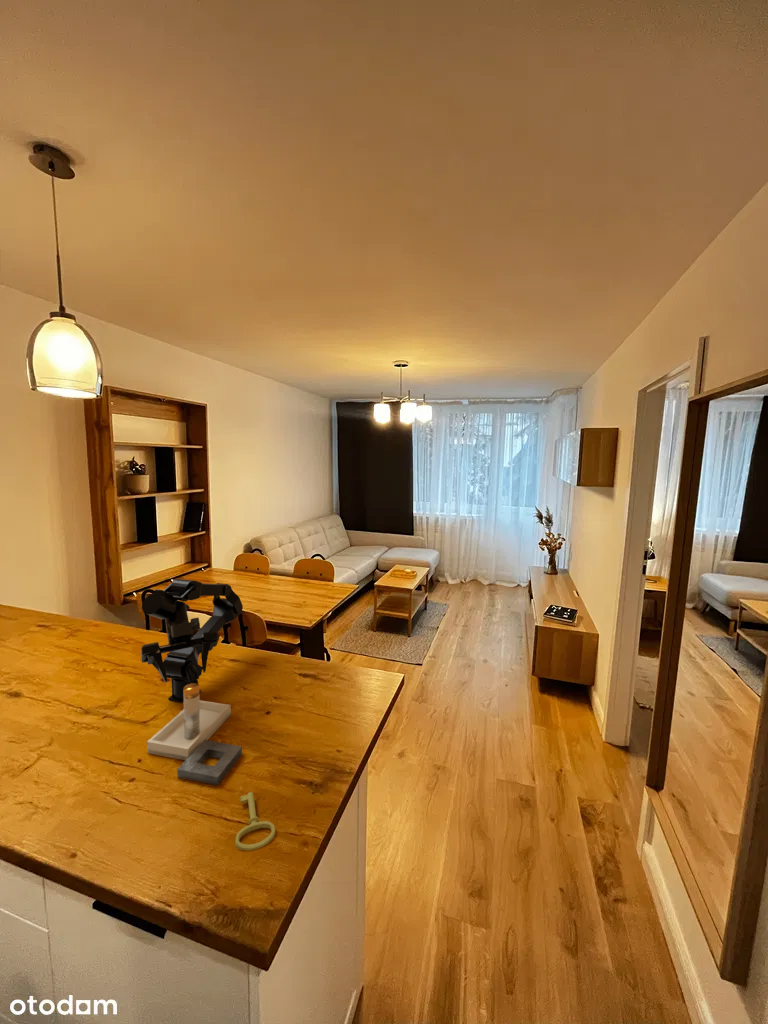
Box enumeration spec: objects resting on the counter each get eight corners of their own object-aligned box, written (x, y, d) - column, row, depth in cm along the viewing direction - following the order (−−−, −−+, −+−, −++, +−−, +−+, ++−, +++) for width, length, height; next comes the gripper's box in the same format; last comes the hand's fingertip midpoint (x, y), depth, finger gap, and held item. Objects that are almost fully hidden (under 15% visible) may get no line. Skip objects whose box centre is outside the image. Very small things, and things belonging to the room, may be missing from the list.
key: (252, 797, 90) (251, 788, 89) (279, 838, 80) (279, 828, 80) (217, 816, 85) (217, 807, 85) (243, 861, 76) (242, 851, 75)
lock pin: (180, 737, 105) (180, 690, 103) (190, 728, 109) (189, 682, 107) (193, 740, 104) (193, 692, 102) (202, 731, 108) (202, 684, 106)
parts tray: (147, 753, 101) (146, 741, 101) (195, 709, 119) (194, 699, 118) (188, 760, 99) (187, 749, 99) (230, 715, 116) (230, 705, 116)
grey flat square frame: (177, 777, 94) (177, 769, 94) (205, 747, 104) (204, 739, 103) (218, 785, 92) (217, 777, 92) (242, 754, 102) (242, 746, 101)
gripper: (139, 615, 107) (146, 675, 99) (216, 602, 117) (227, 656, 110) (138, 633, 114) (144, 691, 107) (210, 620, 125) (221, 671, 117)
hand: (185, 676), depth 110 cm, fingers open, 9 cm apart
